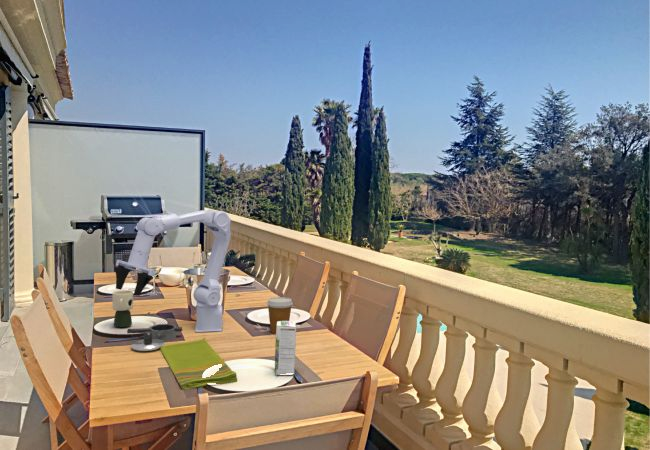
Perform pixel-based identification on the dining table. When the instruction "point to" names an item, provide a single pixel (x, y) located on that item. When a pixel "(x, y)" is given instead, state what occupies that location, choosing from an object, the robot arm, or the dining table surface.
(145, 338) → the lid
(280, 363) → the syrup box
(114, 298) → the character mug
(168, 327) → the cooker base
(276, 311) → the disposable coffee cup
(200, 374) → the dish towel
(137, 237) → the robot arm
